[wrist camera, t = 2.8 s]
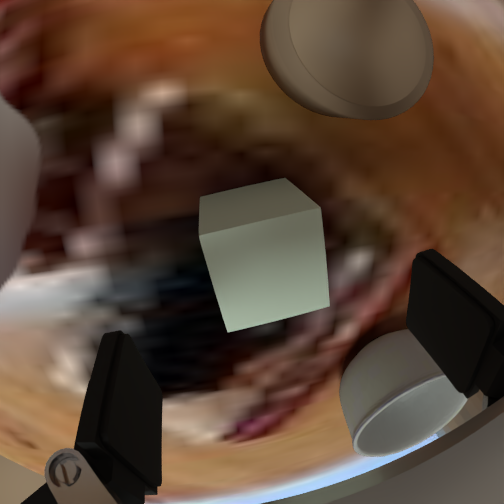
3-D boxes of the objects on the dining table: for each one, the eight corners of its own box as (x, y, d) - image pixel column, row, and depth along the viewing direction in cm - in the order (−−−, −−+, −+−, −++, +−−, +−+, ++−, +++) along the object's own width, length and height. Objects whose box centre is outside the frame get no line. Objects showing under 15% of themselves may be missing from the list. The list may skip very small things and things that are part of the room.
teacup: (384, 399, 29) (414, 455, 22) (303, 393, 26) (328, 465, 19) (462, 296, 25) (514, 345, 18) (390, 263, 22) (456, 326, 14)
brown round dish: (383, -13, 13) (414, -29, 10) (408, 112, 17) (444, 116, 14) (245, -16, 13) (255, -42, 9) (276, 127, 17) (294, 130, 13)
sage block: (285, 177, 18) (320, 207, 13) (296, 253, 20) (329, 306, 15) (200, 196, 18) (198, 235, 12) (220, 272, 20) (227, 332, 14)
